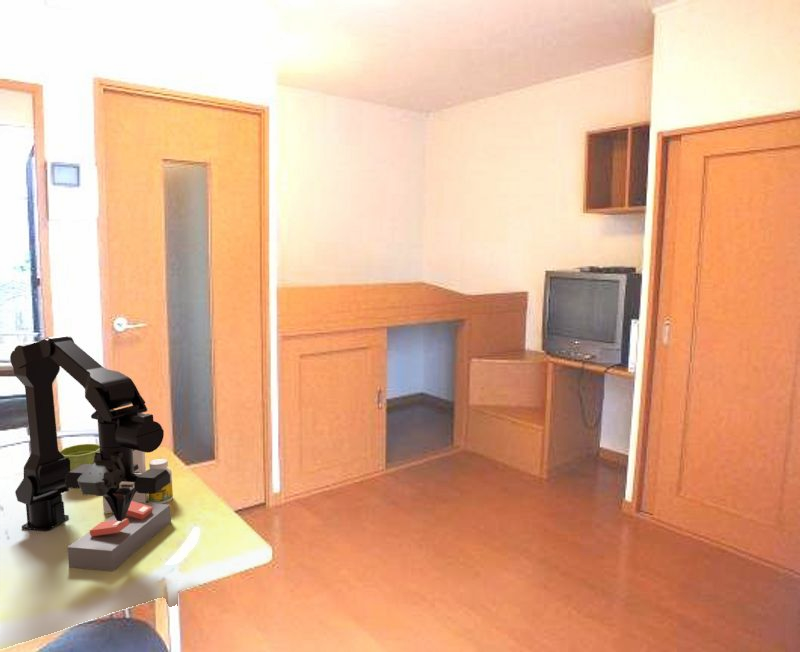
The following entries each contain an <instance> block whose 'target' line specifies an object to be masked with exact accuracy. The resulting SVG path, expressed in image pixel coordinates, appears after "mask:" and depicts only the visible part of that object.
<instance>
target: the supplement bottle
mask: <svg viewBox="0 0 800 652" xmlns="http://www.w3.org/2000/svg"><path fill="white" fill-rule="evenodd" d="M148 466H149V469H150V468H152V469H166V470H167V471H168V472H169V473H170V483H169V484H168V485H166V486H165V487H163V488H162V489H161V490H159V491H158V492H156V493H154V494H147V497H148V503H156V504H167V503H169V502H170V501H172V500H173V497H174V495H173V494H174V493H173V492H174V491H173V478H172V477H173V476H172V475H173V474H172V470H171V468H170V467H168V466H169V462H168V459H166V458H157V459H152V460H151V461H149V465H148Z"/></svg>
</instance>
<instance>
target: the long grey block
mask: <svg viewBox="0 0 800 652" xmlns="http://www.w3.org/2000/svg"><path fill="white" fill-rule="evenodd" d="M138 503H141V504H145V505H148V506H152V507H153V509H152V513H150V514H149V515H148V516H146V517H145V518H144V519H142V520H141V519H138V518H134V517H131V516H127V515H126V516H125V518H124V519H127V518H128V519H129V523H130V524H129V525H128V526H126V527H125V528H124V529H122V530H121V531H120V532H118V533H112V534H105V535H98V536H91V535H90V531H89V532H87V533H85V534H84V535H83V536H81V537H80V538H79V539H77V540H75V541H74V542H72V543H71V544H69V545H68V546H67V557H68V559H67V561H68V568H73V569H74V568H75V569H85V570H87V569H88V570H94V571H95V570H97V571H106V572H107V571H108V572H114V571H115V570H116V569H117V568H119V566H120V565H122V564H123V563H124V562H126V561H127V560H129V558H130V557H131V556H132V555H134V554H135V553H136V552H137V551H138V550H139V549H141V548H142V547H143V546H144V545H146V544H147V543H148V542H149V541H150V540H152V539H153V538H154V537H155V536H156V535H157V534H159V533H160V532H161V531H162V530H163V529H165V528H166V527H167V526H169V524H171V523H172V514H171V513H172V512H171V504H167V503H163V504H156V503H150V502H146V503H143V502H138ZM113 520H116V518H115V516H114V514H113V515H111V516H110V517H108V518H107V519H105V520H104V521H103V522H106V521H113Z"/></svg>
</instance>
